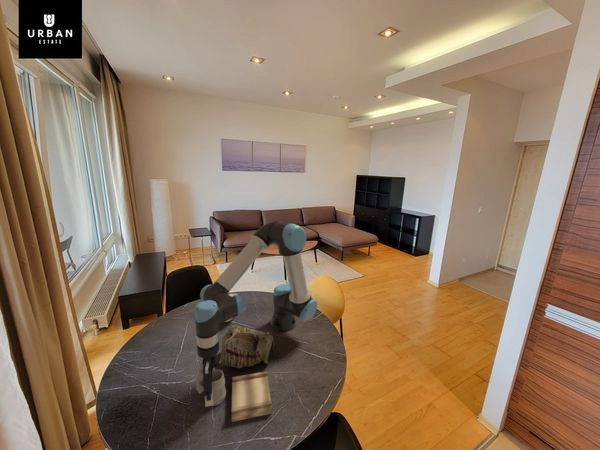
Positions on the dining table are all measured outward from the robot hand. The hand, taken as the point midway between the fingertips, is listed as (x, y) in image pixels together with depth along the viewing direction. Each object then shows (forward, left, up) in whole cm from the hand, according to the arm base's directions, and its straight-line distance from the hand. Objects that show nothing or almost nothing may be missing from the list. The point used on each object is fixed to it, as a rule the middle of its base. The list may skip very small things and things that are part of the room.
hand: (210, 393), depth 95 cm
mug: (0, 0, -2) cm, 2 cm away
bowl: (-5, -57, -2) cm, 57 cm away
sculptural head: (-14, -17, -2) cm, 22 cm away
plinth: (-15, +4, -2) cm, 16 cm away
